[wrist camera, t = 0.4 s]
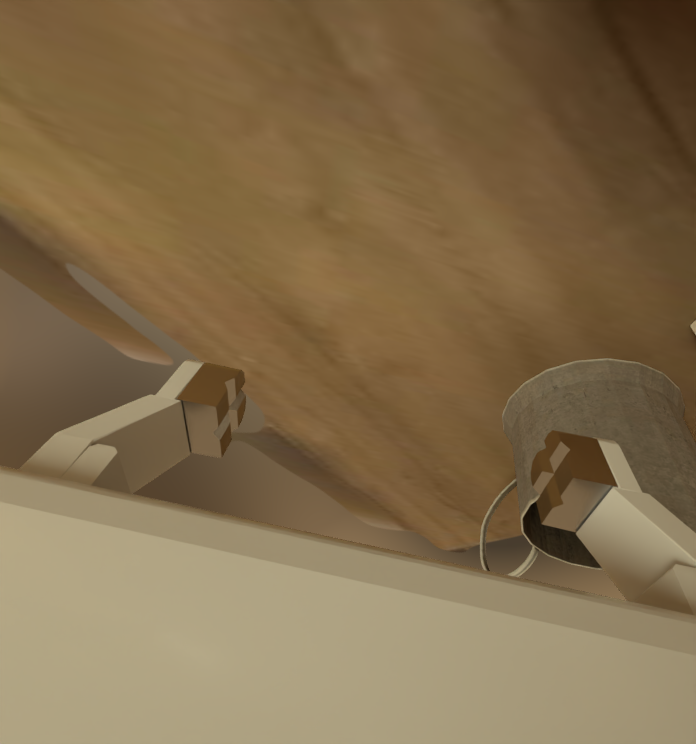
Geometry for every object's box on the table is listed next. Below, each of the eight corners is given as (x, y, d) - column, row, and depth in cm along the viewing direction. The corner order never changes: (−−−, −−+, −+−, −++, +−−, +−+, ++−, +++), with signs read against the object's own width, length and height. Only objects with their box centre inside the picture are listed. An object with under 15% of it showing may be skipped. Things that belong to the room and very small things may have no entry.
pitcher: (718, 426, 57) (835, 626, 39) (522, 499, 77) (540, 654, 59) (617, 328, 51) (701, 514, 33) (432, 435, 71) (420, 587, 53)
